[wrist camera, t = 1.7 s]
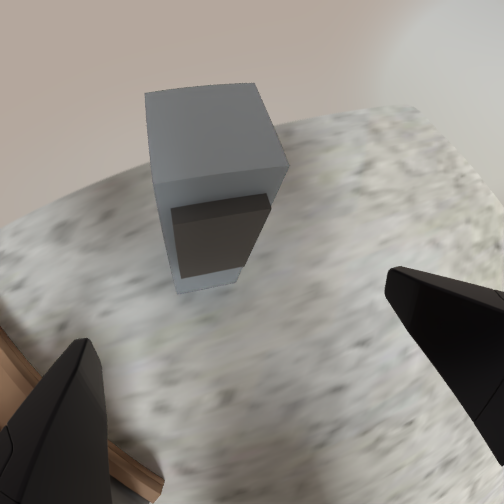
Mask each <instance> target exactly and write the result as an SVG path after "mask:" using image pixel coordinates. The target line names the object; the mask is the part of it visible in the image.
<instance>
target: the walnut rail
mask: <svg viewBox="0 0 504 504" xmlns="http://www.w3.org/2000/svg"><path fill="white" fill-rule="evenodd" d="M41 379H42V377H41V376H40V374H39V373H38V372H37V371H36V370H35V369H34V368H33V367H32V365H31V364H30V363H29V362H28V361H27V359H26V358H25V357H24V356H23V355H22V353H21V352H20V351H19V350H18V349H17V347H16V346H15V345H14V343H13V342H12V341H11V340H10V338H9V337H8V336H7V334H6V333H5V332H4V330H3V329H2V328H1V326H0V432H1V430H2V429H3V427H4V426H5V425H7V422H8V421H9V419H10V418H11V417H12V415H13V414H14V413H15V412H16V410H17V409H18V408H19V406H20V405H21V404H22V402H23V401H24V400H25V399H26V397H27V396H28V395H29V394H30V392H31V391H32V390H33V389H34V387H35V386H36V385H37V384H38V382H39V381H40V380H41ZM107 440H108V439H107ZM108 460H109V473H110V485H111V494H112V503H113V504H149V502H151V503H154V502H155V501H156V500H157V498H158V497H159V496H160V495H161V492H162V488H163V486H164V482H165V480H164V479H162V478H160V477H159V476H157V475H156V474H154V473H153V472H151V471H150V470H148V469H147V468H145V467H144V466H143V465H141V464H140V463H138V462H137V461H136V460H134V459H133V458H131V457H130V456H129V455H127V454H126V453H125V452H123V451H122V450H121V449H119V448H118V447H117V446H116V445H114V444H113V443H112V442H111V441H109V440H108Z"/></svg>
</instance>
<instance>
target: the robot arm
mask: <svg viewBox="0 0 504 504" xmlns="http://www.w3.org/2000/svg"><path fill="white" fill-rule="evenodd" d="M385 297H386V299H387V300H388V302H389V303H390V305H391V306H392V308H393V309H394V311H395V312H396V314H397V316H398V317H399V319H400V320H401V322H402V323H403V325H404V326H405V328H406V330H407V331H408V332H409V334H410V335H411V336H412V338H413V339H414V340H415V342H416V343H417V344H418V346H419V347H420V348H421V350H422V351H423V352H424V354H425V355H426V356H427V358H428V359H429V360H430V362H431V363H432V364H433V366H434V367H435V368H436V370H437V371H438V372H439V374H440V375H441V377H442V378H443V379H444V381H445V382H446V383H447V385H448V386H449V388H450V389H451V390H452V392H453V393H454V395H455V396H456V398H457V399H458V400H459V402H460V403H461V405H462V406H463V408H464V409H465V411H466V412H467V414H468V415H469V417H470V418H471V420H472V421H473V422H474V425H475V426H476V428H477V429H478V431H479V432H480V434H481V435H482V437H483V438H484V440H485V442H486V443H487V445H488V446H489V448H490V450H491V451H492V453H493V454H494V456H495V458H496V459H497V461H498V463H499V464H500V465H501V466H503V465H504V292H502V291H498V290H493V289H490V288H486V287H482V286H479V285H475V284H471V283H467V282H463V281H459V280H455V279H451V278H447V277H443V276H439V275H435V274H431V273H427V272H423V271H419V270H414V269H410V268H406V267H402V266H398V267H394V268H391V269H390V270H389V271H388V273H387V279H386V285H385ZM0 504H113V503H112V494H111V485H110V473H109V460H108V440H107V414H106V405H105V396H104V386H103V375H102V366H101V362H100V359H99V357H98V355H97V353H96V351H95V349H94V347H93V344H92V342H91V341H90V339H88V338H81V339H76V340H74V341H73V342H72V343H71V344H70V345H69V347H68V348H67V349H66V350H65V351H64V352H63V354H62V355H61V356H60V357H59V358H58V359H57V361H56V362H55V363H54V364H53V365H52V367H51V368H50V369H49V370H48V371H47V373H46V374H45V375H44V376H43V377H42V379H41V380H40V381H39V382H38V384H37V385H36V386H35V387H34V389H33V390H32V391H31V392H30V394H29V395H28V396H27V397H26V399H25V400H24V401H23V402H22V404H21V405H20V406H19V408H18V409H17V410H16V412H15V413H14V414H13V415H12V417H11V418H10V419H9V421H8V422H7V425H5V426H4V427H3V429H2V430H1V432H0Z"/></svg>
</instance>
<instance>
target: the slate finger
mask: <svg viewBox="0 0 504 504" xmlns="http://www.w3.org/2000/svg"><path fill="white" fill-rule="evenodd" d="M145 107H146V121H147V133H148V143H149V154H150V163H151V172H152V180H153V187H154V192H155V198H156V203H157V208H158V213H159V218H160V223H161V227H162V232H163V237H164V241H165V246H166V250H167V255H168V259H169V263H170V267H171V271H172V276H173V280H174V284H175V288H176V291H177V294H182V293H187V292H192V291H197V290H202V289H207V288H212V287H216V286H221V285H226V284H231V283H235V282H236V280H237V278H238V276H239V274H240V272H241V270H242V268H243V267H244V266H245V264H246V262H247V259H248V257H249V255H250V253H251V251H252V249H253V247H254V245H255V243H256V240H257V238H258V236H259V234H260V232H261V230H262V228H263V226H264V224H265V221H266V219H267V217H268V215H269V213H270V211H271V209H272V208H271V205H272V203H273V201H274V198H275V196H276V194H277V192H278V190H279V188H280V185H281V183H282V181H283V179H284V177H285V175H286V172H287V170H288V168H289V163H288V161H287V158H286V156H285V153H284V151H283V148H282V146H281V143H280V141H279V138H278V136H277V134H276V131H275V129H274V126H273V124H272V122H271V119H270V117H269V115H268V113H267V110H266V108H265V106H264V103H263V101H262V99H261V96H260V94H259V92H258V90H257V87H256V85H255V83H239V84H220V85H207V86H196V87H186V88H177V89H169V90H162V91H155V92H149V93H145Z"/></svg>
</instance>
